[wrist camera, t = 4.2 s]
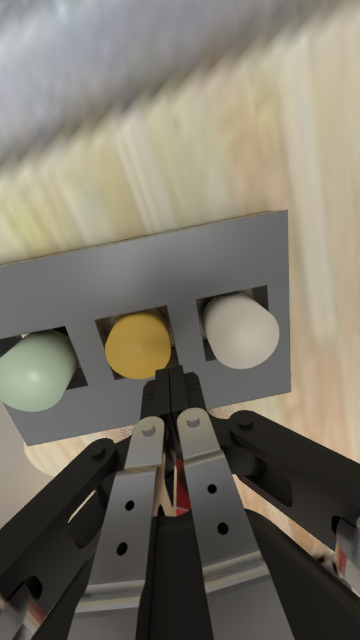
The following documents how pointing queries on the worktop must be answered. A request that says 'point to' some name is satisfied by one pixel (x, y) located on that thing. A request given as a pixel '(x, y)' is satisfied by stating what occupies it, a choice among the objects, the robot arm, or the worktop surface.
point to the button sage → (37, 371)
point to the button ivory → (239, 330)
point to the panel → (140, 294)
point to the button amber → (139, 344)
